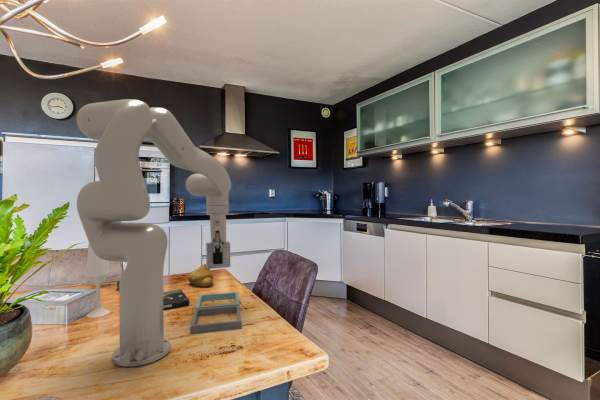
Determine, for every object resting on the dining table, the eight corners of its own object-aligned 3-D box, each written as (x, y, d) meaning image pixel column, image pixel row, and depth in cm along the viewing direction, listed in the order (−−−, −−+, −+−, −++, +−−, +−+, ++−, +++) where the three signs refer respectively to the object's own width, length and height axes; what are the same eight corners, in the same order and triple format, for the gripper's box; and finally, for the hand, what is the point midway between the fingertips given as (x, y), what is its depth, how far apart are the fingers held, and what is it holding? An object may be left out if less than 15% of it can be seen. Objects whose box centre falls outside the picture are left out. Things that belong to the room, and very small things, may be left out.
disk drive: (190, 307, 109) (181, 296, 121) (190, 299, 109) (181, 288, 121) (157, 313, 103) (151, 300, 116) (157, 305, 103) (151, 293, 116)
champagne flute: (107, 316, 100) (106, 241, 99) (82, 318, 98) (81, 242, 97) (112, 309, 106) (112, 238, 106) (89, 311, 104) (89, 239, 104)
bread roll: (217, 286, 133) (217, 267, 133) (194, 290, 127) (194, 270, 127) (207, 280, 143) (207, 262, 143) (186, 283, 138) (185, 265, 138)
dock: (241, 328, 90) (241, 321, 90) (190, 333, 87) (190, 326, 86) (237, 297, 118) (237, 291, 118) (199, 300, 115) (199, 294, 115)
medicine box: (228, 264, 113) (228, 241, 113) (230, 267, 109) (230, 242, 109) (206, 266, 110) (205, 242, 110) (207, 269, 106) (206, 244, 106)
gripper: (228, 211, 102) (229, 266, 102) (228, 209, 118) (228, 257, 119) (204, 211, 100) (205, 268, 100) (207, 209, 117) (208, 258, 117)
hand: (218, 261), depth 109 cm, fingers closed on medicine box, 4 cm apart
